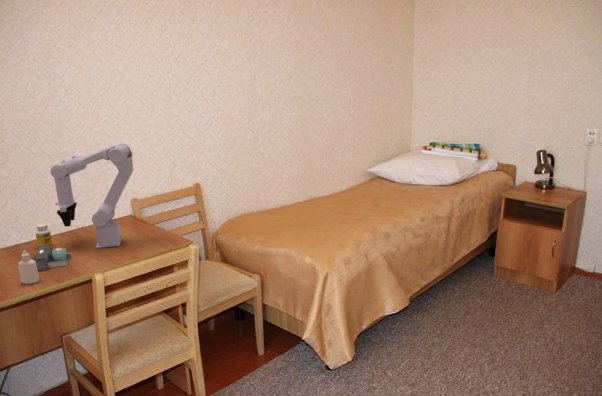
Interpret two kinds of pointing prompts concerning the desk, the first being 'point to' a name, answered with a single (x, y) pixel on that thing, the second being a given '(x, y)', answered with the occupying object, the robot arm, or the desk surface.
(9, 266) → the desk surface
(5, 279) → the desk surface
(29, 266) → the eye dropper bottle
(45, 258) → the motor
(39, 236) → the supplement bottle
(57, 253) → the teal cylinder
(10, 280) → the desk surface
